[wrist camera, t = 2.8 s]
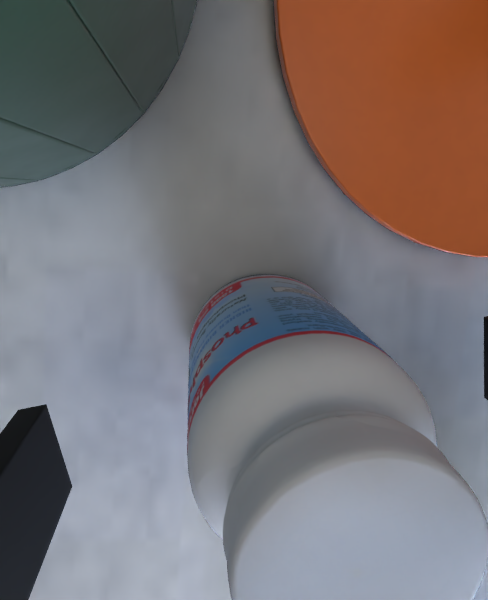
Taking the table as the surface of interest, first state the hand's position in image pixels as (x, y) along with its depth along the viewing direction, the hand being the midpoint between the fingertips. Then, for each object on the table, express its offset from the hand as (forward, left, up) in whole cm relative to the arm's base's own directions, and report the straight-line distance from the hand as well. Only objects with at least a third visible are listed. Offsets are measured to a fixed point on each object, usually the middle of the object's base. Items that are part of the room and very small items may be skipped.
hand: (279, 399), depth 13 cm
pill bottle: (0, 0, -6) cm, 6 cm away
